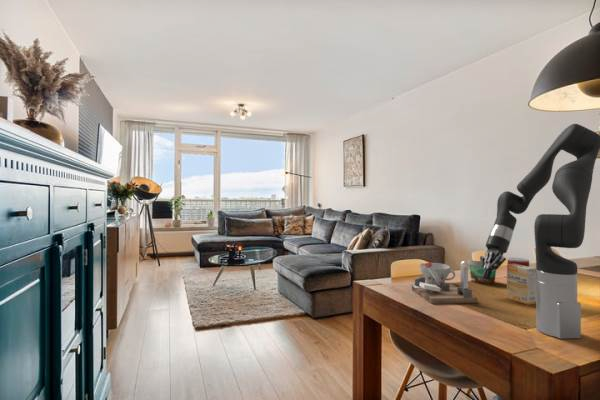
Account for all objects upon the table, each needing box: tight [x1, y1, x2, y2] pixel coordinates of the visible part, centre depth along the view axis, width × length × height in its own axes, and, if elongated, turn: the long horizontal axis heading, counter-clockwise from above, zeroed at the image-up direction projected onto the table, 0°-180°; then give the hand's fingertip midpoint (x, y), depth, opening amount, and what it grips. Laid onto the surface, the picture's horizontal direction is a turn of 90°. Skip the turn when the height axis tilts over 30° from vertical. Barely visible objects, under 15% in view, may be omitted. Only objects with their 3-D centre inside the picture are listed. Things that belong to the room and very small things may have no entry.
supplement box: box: [506, 263, 536, 306], centre depth 122 cm, size 8×5×13 cm, turn 21°
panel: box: [409, 281, 479, 305], centre depth 130 cm, size 20×18×5 cm
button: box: [414, 276, 426, 286], centre depth 137 cm, size 4×4×3 cm
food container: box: [467, 259, 497, 285], centre depth 149 cm, size 12×6×10 cm, turn 76°
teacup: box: [419, 262, 456, 284], centre depth 149 cm, size 15×12×8 cm
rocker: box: [419, 282, 441, 292], centre depth 128 cm, size 4×6×1 cm
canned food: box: [507, 257, 530, 267], centre depth 147 cm, size 8×8×11 cm
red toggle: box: [425, 261, 443, 287], centre depth 132 cm, size 3×3×12 cm
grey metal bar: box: [459, 260, 469, 294], centre depth 123 cm, size 3×3×12 cm
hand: (484, 278), depth 128 cm, fingers closed
